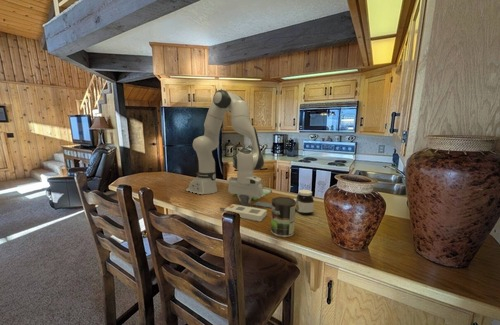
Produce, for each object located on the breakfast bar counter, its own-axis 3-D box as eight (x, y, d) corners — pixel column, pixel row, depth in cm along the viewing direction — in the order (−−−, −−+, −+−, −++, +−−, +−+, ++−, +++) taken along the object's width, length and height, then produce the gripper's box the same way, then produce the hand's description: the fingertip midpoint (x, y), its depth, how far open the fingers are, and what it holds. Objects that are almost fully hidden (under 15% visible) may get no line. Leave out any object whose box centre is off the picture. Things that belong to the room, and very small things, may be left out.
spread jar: (315, 215, 111) (316, 194, 110) (294, 216, 110) (295, 194, 108) (305, 207, 123) (306, 187, 121) (286, 208, 121) (287, 188, 119)
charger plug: (240, 207, 121) (240, 194, 119) (243, 205, 124) (243, 192, 123) (246, 208, 119) (246, 194, 118) (248, 206, 123) (249, 193, 121)
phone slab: (252, 206, 124) (252, 204, 124) (256, 202, 131) (256, 201, 131) (276, 210, 119) (276, 208, 119) (279, 206, 126) (279, 204, 126)
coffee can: (278, 239, 87) (279, 206, 85) (266, 228, 97) (267, 198, 94) (299, 234, 91) (301, 203, 89) (286, 224, 101) (287, 195, 98)
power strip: (216, 213, 112) (215, 206, 112) (224, 207, 121) (224, 201, 120) (260, 222, 103) (260, 215, 102) (266, 215, 111) (266, 208, 110)
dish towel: (272, 192, 151) (272, 187, 151) (255, 201, 132) (255, 196, 132) (252, 188, 161) (252, 184, 160) (233, 196, 142) (233, 191, 141)
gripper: (226, 177, 120) (226, 201, 122) (260, 181, 112) (259, 206, 114) (231, 175, 126) (231, 198, 128) (264, 179, 118) (263, 203, 120)
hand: (244, 202), depth 121 cm, fingers closed on charger plug, 3 cm apart
